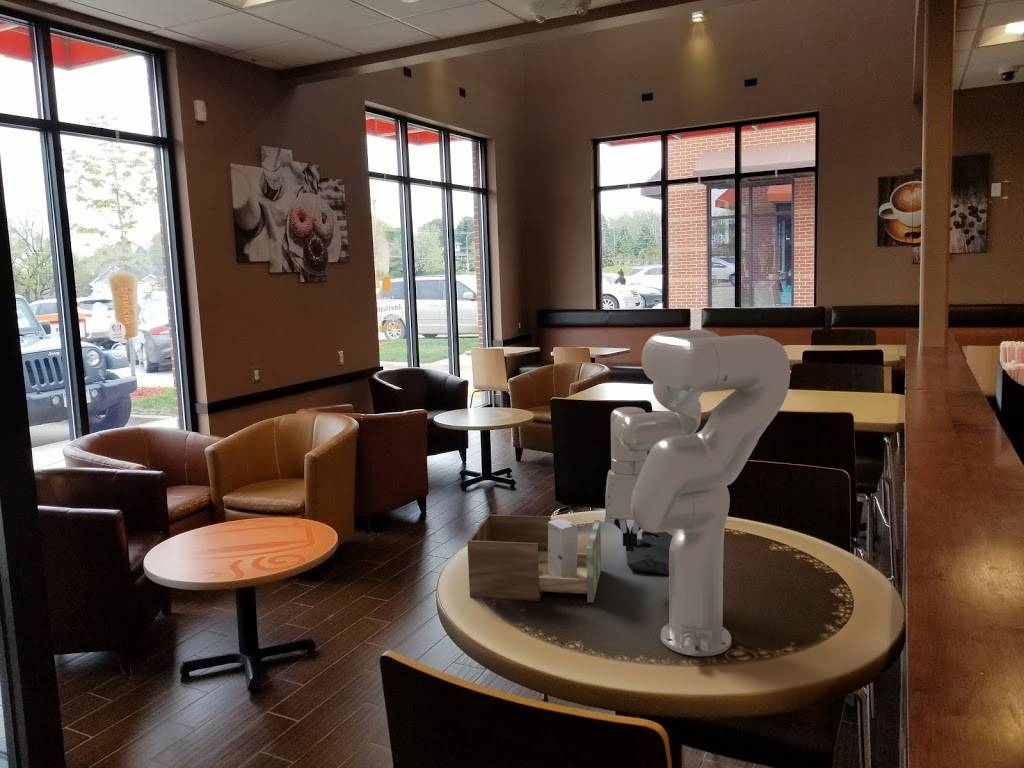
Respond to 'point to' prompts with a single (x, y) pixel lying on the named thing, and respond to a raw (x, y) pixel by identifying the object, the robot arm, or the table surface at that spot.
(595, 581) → the pull-out wooden drawer
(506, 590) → the walnut box
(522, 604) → the table surface
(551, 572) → the skincare box
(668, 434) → the robot arm
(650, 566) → the black tote bag
